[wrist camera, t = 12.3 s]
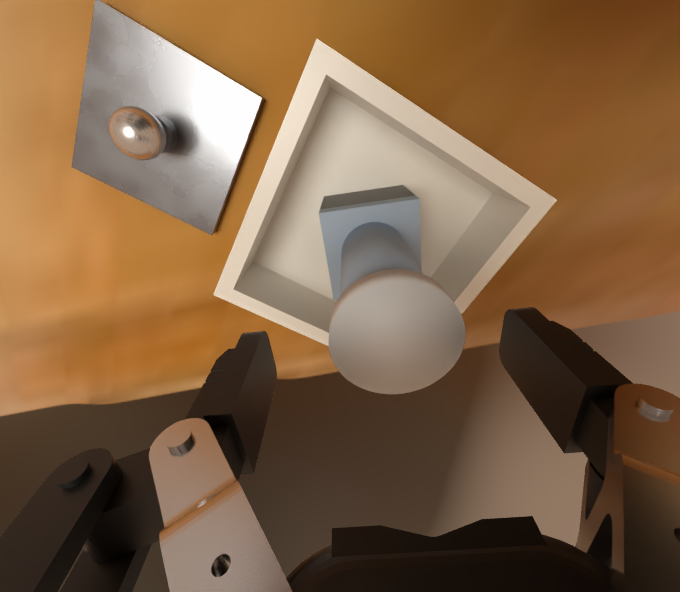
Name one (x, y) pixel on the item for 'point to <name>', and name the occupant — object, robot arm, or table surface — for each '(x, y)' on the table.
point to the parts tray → (365, 174)
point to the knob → (385, 294)
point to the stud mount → (160, 121)
